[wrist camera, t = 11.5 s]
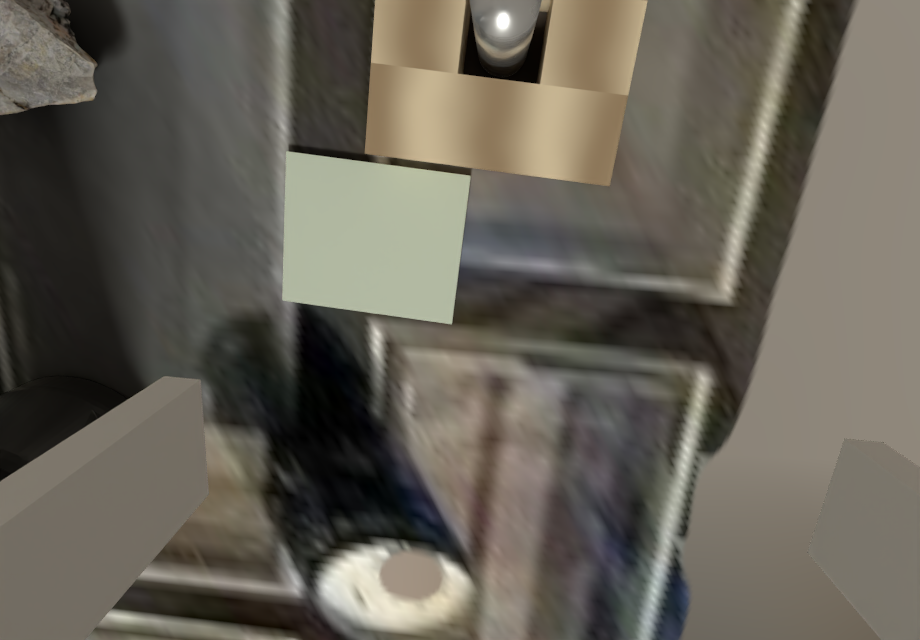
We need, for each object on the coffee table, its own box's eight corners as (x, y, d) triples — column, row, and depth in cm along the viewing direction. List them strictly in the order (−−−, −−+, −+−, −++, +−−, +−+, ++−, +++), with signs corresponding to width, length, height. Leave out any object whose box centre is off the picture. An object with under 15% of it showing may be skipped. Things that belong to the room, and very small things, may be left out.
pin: (474, 74, 31) (465, 32, 22) (481, 19, 30) (474, -50, 21) (523, 80, 31) (535, 41, 22) (531, 25, 30) (547, -41, 21)
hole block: (379, 155, 33) (364, 153, 29) (399, -102, 29) (385, -143, 25) (596, 184, 33) (609, 186, 29) (646, -73, 29) (670, -110, 25)
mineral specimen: (92, 30, 37) (73, 168, 37) (-68, -33, 31) (-90, 128, 31) (113, -25, 30) (89, 147, 30) (-91, -119, 24) (-119, 91, 24)
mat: (284, 298, 36) (282, 300, 36) (288, 151, 33) (286, 151, 33) (452, 322, 36) (451, 324, 36) (470, 175, 33) (470, 175, 33)
